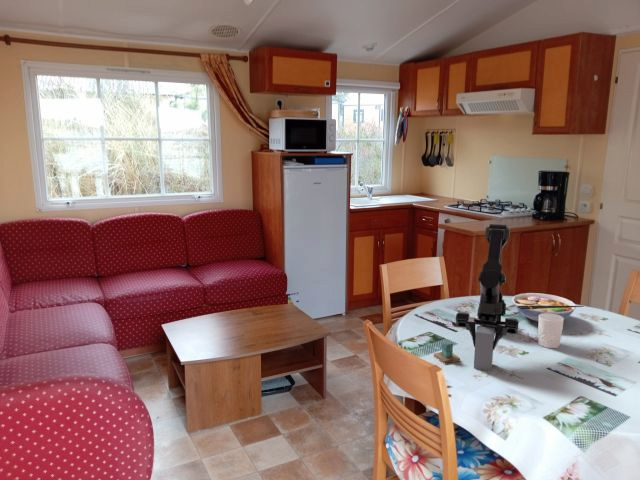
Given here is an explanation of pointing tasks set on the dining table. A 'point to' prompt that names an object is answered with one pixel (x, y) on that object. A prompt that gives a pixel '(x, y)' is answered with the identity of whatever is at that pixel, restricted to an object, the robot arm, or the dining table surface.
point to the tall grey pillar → (484, 348)
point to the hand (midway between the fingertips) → (483, 348)
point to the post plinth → (446, 360)
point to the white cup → (550, 330)
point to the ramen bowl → (543, 305)
